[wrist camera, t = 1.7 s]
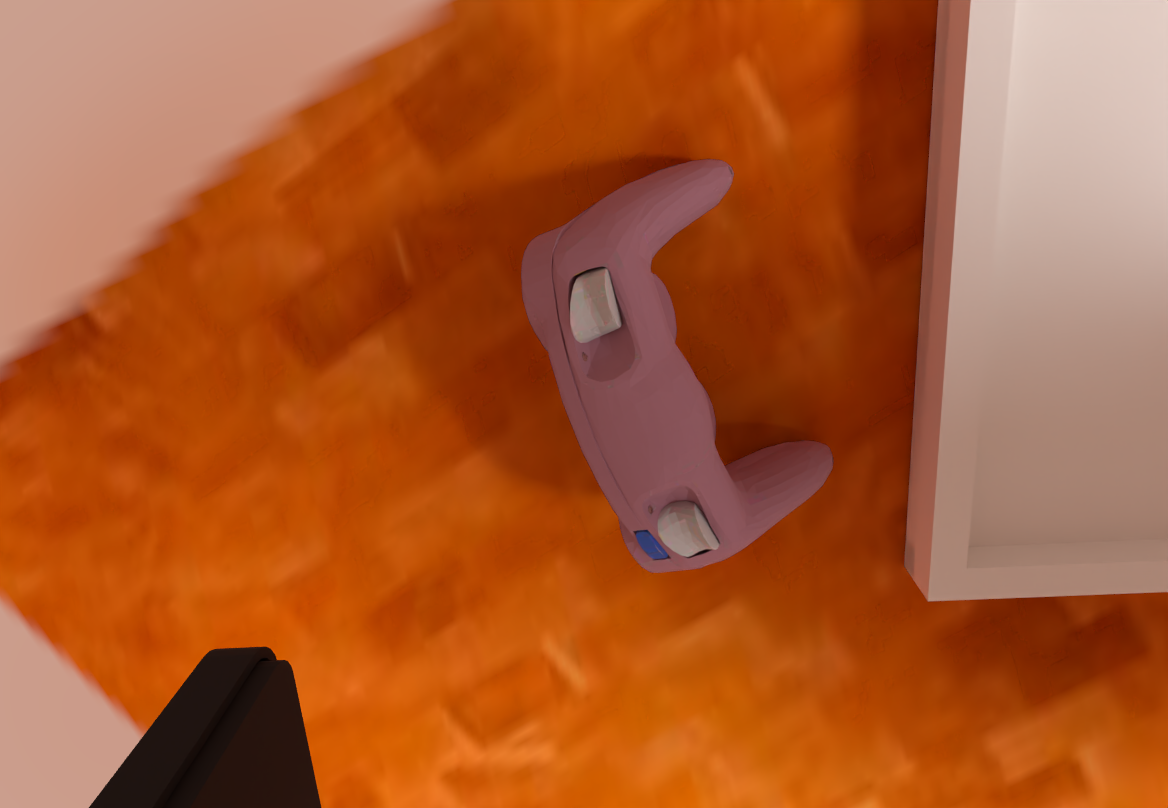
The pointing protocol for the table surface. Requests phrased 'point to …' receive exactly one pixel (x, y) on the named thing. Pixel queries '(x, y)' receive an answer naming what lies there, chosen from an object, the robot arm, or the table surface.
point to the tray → (1043, 304)
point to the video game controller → (652, 379)
